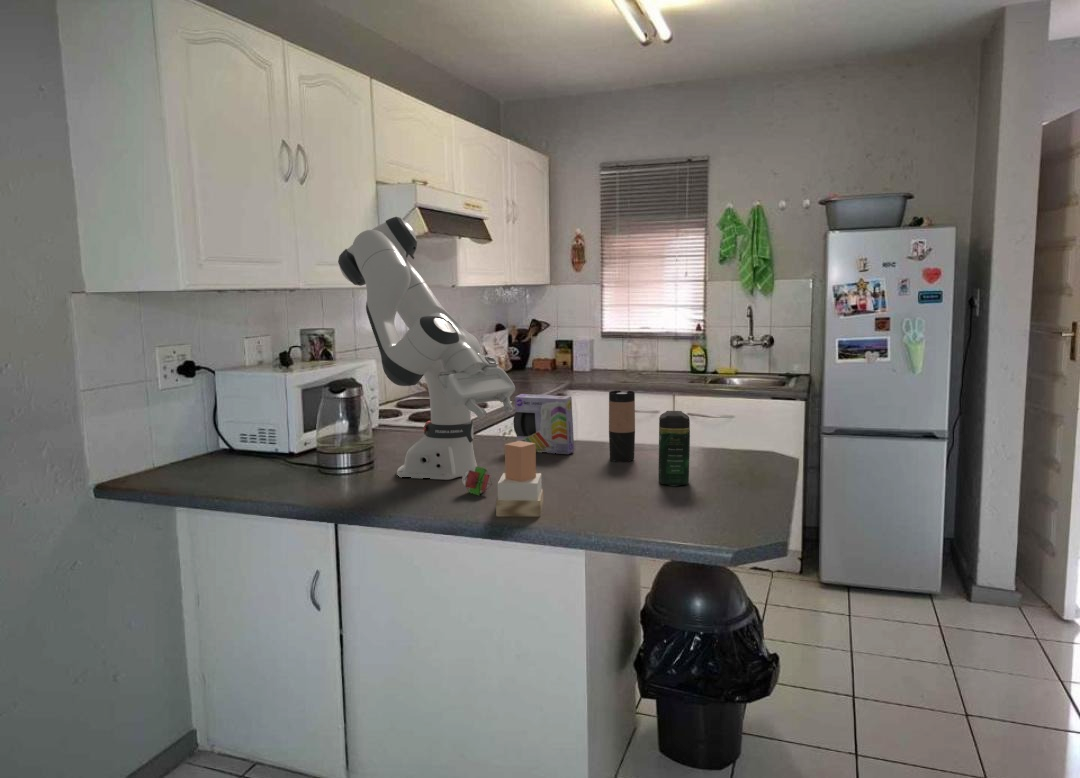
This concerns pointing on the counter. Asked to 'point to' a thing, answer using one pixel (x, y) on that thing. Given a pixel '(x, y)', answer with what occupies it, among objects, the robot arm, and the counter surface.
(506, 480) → the tower top
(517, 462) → the pillar
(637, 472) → the counter surface
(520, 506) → the tower base
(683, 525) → the counter surface
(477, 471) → the geometric puzzle
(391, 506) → the counter surface
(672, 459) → the coffee jar
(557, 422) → the cake pan box
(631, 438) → the travel mug
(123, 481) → the counter surface
